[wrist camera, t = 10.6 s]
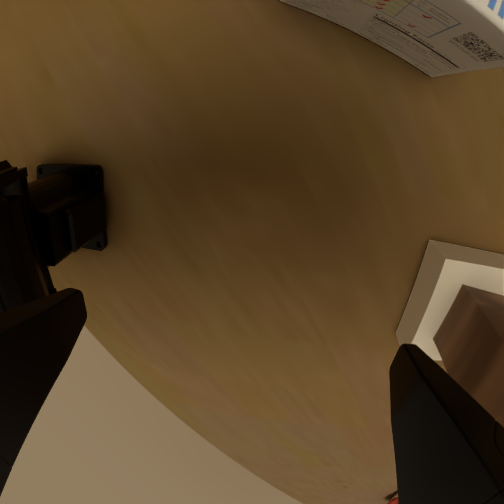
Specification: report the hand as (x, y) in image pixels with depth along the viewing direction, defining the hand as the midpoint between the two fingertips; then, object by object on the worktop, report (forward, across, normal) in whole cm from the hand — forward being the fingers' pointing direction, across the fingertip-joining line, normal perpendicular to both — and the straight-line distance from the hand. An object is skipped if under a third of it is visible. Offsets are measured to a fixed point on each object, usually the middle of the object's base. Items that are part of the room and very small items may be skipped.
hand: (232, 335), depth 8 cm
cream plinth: (+13, -15, +5) cm, 20 cm away
